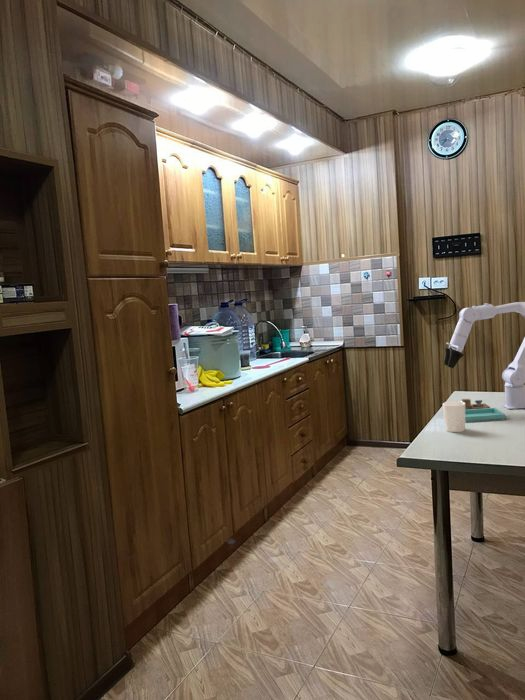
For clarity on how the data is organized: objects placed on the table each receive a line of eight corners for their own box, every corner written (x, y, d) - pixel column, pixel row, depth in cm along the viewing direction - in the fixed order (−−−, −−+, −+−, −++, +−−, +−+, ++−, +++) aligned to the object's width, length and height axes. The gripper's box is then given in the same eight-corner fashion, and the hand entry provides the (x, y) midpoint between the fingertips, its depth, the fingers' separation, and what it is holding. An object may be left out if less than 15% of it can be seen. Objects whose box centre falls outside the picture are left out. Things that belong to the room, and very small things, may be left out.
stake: (481, 409, 229) (481, 399, 229) (483, 410, 227) (482, 400, 227) (475, 410, 230) (474, 400, 229) (476, 411, 228) (475, 401, 227)
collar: (485, 408, 231) (484, 396, 231) (490, 411, 225) (489, 399, 224) (460, 409, 233) (460, 398, 232) (465, 413, 226) (464, 401, 225)
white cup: (442, 432, 201) (440, 405, 200) (446, 427, 208) (444, 401, 207) (465, 433, 197) (463, 405, 196) (468, 427, 204) (466, 401, 203)
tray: (495, 412, 222) (495, 407, 222) (505, 419, 211) (505, 414, 210) (454, 415, 224) (454, 410, 224) (462, 422, 212) (462, 417, 212)
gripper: (447, 331, 234) (435, 361, 236) (455, 333, 220) (442, 365, 222) (463, 336, 234) (451, 366, 235) (472, 339, 219) (459, 371, 221)
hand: (448, 366), depth 229 cm, fingers open, 7 cm apart
